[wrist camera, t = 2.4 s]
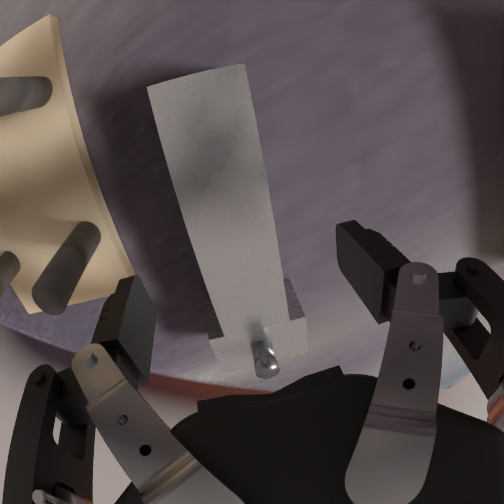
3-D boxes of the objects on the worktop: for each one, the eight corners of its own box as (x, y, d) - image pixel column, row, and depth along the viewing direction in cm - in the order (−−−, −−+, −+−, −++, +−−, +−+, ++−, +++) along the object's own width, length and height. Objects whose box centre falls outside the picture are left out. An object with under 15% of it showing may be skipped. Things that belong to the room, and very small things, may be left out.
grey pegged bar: (143, 94, 13) (109, 95, 8) (252, 67, 13) (280, 53, 8) (219, 332, 22) (226, 396, 17) (294, 314, 23) (317, 374, 18)
